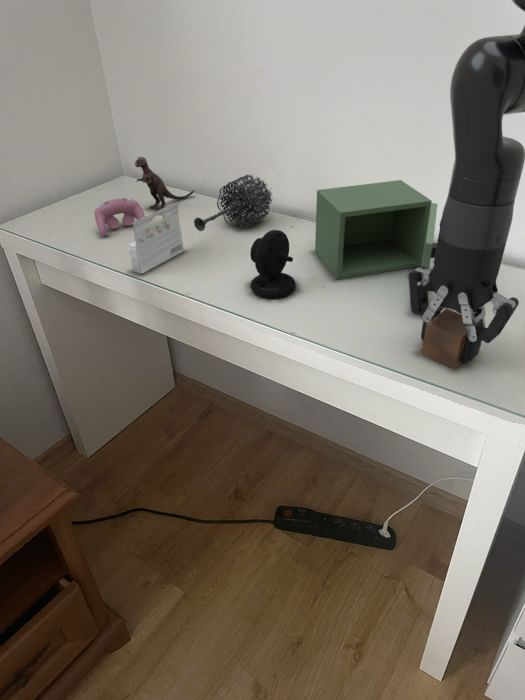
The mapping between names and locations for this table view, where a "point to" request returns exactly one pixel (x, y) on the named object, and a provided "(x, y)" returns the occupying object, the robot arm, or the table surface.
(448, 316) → the block
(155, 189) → the dinosaur model
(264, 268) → the webcam
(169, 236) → the ink cartridge box
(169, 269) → the table surface
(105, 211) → the video game controller
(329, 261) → the cupboard
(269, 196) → the massage brush
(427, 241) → the door
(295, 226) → the table surface
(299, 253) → the table surface
